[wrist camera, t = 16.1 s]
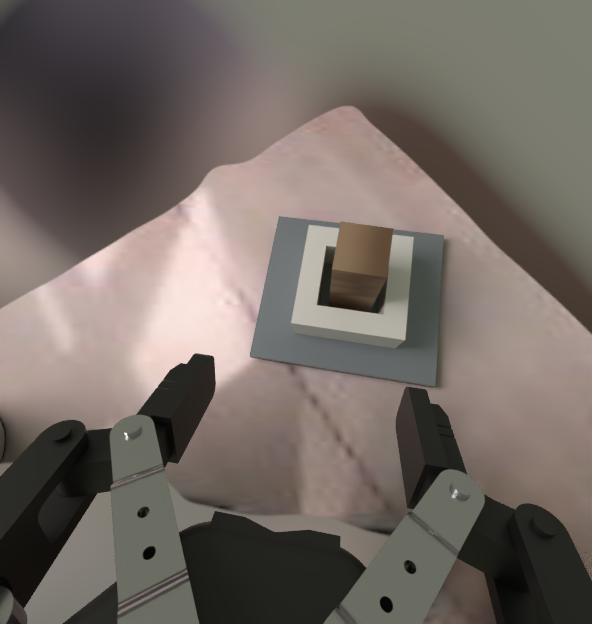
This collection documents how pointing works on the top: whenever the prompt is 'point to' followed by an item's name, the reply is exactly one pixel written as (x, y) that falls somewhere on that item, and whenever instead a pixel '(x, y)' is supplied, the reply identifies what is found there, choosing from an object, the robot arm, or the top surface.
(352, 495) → the top surface
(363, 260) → the brown wooden block
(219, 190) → the top surface
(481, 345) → the top surface
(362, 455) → the top surface
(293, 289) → the socket plate
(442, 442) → the robot arm
